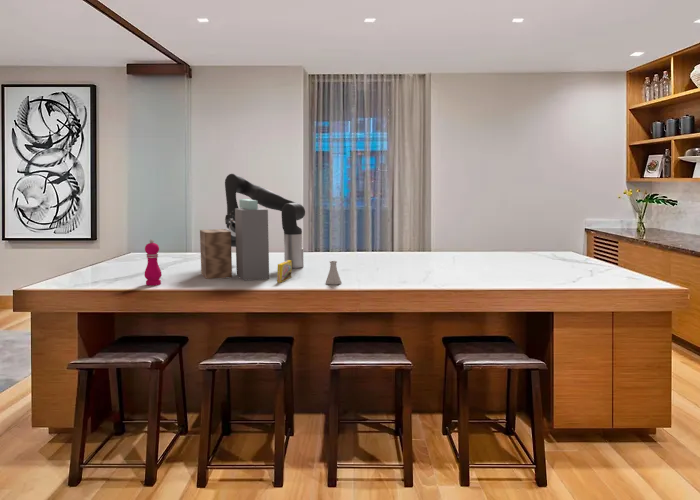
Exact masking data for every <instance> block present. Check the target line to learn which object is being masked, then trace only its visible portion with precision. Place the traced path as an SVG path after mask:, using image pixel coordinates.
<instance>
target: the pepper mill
mask: <svg viewBox="0 0 700 500" xmlns="http://www.w3.org/2000/svg"><path fill="white" fill-rule="evenodd" d="M144 252H145V253H146V254H145V255H146V260H147V264H146V267H145V270H144V277H145V279H146V280H145V285H146V286H153V287H154V286H160V285H161V284H162V280H161V277H162V276H163V275H162V270H161V268H160V266H159V263H158V258H159V253H158V252H160V246H159V245H158V244H157V242H156V243H155V240H154V239H150V240H149V243H147V244H145V247H144Z"/></svg>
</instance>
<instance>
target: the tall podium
mask: <svg viewBox="0 0 700 500" xmlns="http://www.w3.org/2000/svg"><path fill="white" fill-rule="evenodd" d="M235 232H236V247H235V258H236V259H235V260H236V262H235V264H236V265H235V268H236V269H235V270H236V276H237V277H238V278H239V277H240V278H239V279H241V280H242V281H243V280H244V281H258V279H260V280H270V255H269V254H270V253H269V252H270V250H269V249H270V248H269V210H268V208H262V207H258V209H257V210H248V209H244V208H240V207H238V208H237V209H235Z"/></svg>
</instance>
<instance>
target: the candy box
mask: <svg viewBox="0 0 700 500" xmlns="http://www.w3.org/2000/svg"><path fill="white" fill-rule="evenodd" d="M291 266H292V261H291V260H287V261H283V262H281V263H278V264H277V272H276V273H277V283H279V284H280V283H283V282H286V281H287V280H289V279H290V278H292V268H291Z"/></svg>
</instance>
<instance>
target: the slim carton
mask: <svg viewBox="0 0 700 500" xmlns="http://www.w3.org/2000/svg"><path fill="white" fill-rule="evenodd" d="M238 201H239V202H238V204H239V205H238V208H244V209H248V210H257V209H258V208H259V207H258V206H259V204H258V201H256V200H252V199H251V198H250V199H249V198H240V199H238Z"/></svg>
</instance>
